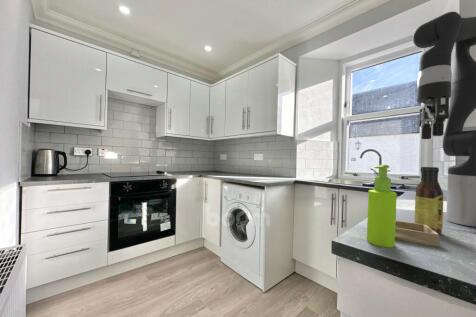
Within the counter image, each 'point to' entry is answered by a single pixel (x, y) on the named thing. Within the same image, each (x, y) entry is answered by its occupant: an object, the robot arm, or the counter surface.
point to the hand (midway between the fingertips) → (431, 137)
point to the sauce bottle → (429, 200)
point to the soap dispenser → (381, 211)
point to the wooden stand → (416, 233)
